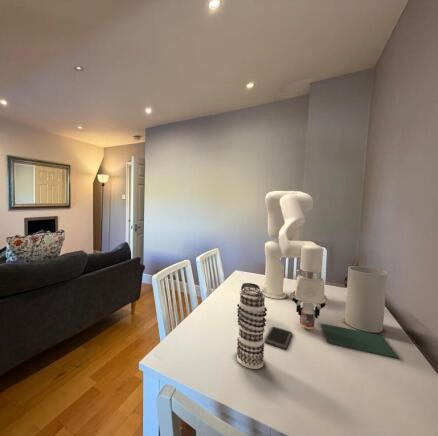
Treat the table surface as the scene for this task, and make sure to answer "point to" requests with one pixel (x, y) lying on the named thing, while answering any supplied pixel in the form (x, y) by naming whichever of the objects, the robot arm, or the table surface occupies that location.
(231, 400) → the table surface
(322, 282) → the robot arm
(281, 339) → the cell phone
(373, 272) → the cylinder vase
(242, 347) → the black white tall cylinder
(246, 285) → the coffee cup
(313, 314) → the pill bottle
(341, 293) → the table surface
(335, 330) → the right mat
